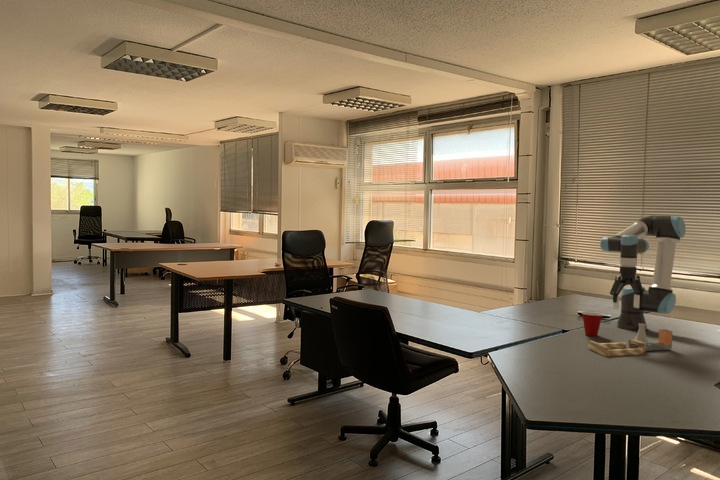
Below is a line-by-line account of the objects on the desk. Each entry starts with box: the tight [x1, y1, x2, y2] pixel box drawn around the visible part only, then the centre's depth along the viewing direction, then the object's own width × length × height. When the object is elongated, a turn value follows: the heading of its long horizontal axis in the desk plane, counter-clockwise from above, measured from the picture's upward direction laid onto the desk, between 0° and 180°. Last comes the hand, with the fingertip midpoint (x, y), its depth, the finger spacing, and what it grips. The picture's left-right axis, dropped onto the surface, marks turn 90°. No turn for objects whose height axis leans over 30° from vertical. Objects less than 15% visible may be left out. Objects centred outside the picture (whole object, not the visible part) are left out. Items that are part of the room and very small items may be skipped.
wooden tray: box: [587, 338, 647, 357], centre depth 255 cm, size 23×12×4 cm, turn 102°
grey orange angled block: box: [628, 329, 673, 352], centre depth 258 cm, size 20×4×9 cm, turn 102°
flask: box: [634, 324, 650, 343], centre depth 270 cm, size 7×7×10 cm
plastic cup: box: [581, 311, 604, 337], centre depth 288 cm, size 11×11×12 cm
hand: (626, 308), depth 272 cm, fingers open, 13 cm apart
